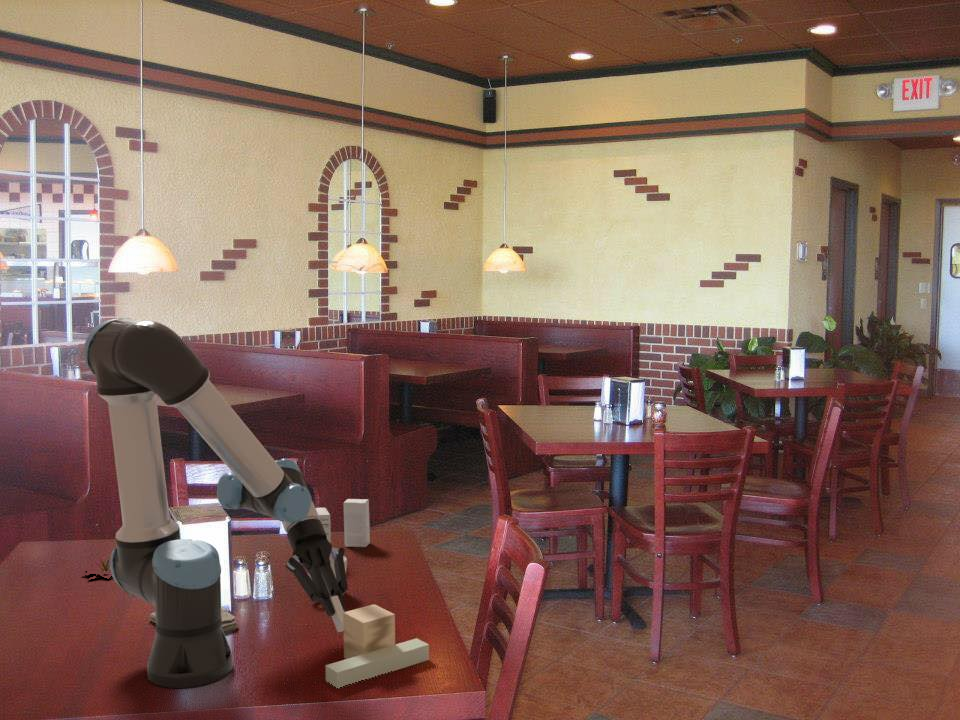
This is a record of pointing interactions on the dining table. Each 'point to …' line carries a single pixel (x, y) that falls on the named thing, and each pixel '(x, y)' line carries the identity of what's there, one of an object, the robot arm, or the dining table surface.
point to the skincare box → (356, 523)
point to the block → (367, 630)
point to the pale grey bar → (377, 662)
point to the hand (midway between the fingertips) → (343, 628)
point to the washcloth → (227, 620)
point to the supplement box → (325, 521)
